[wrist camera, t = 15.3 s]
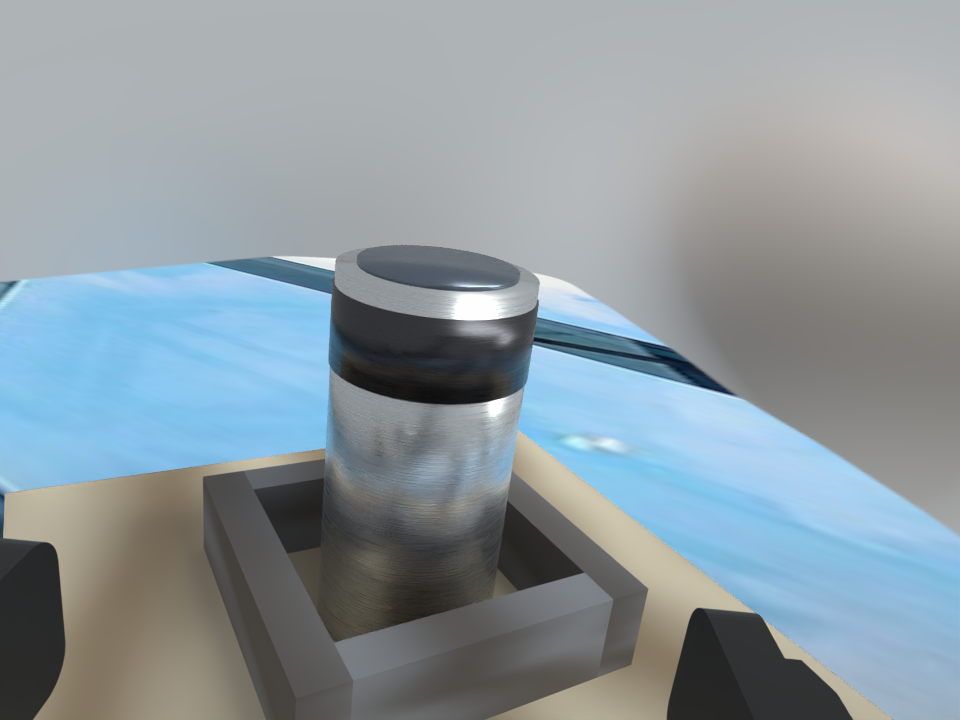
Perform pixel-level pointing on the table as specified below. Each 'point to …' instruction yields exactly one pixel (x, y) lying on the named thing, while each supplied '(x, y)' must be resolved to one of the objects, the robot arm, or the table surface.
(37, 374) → the table surface
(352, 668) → the mount board
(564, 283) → the table surface
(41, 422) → the table surface
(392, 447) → the lens
